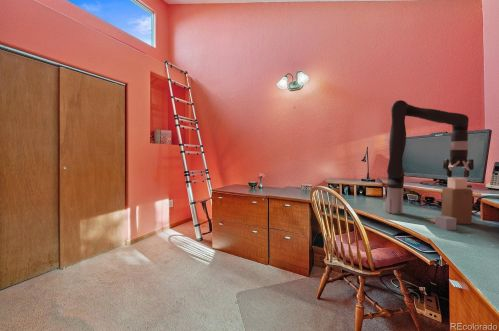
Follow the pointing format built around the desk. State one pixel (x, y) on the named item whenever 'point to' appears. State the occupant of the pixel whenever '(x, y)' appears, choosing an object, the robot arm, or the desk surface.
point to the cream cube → (457, 183)
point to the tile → (431, 220)
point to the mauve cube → (445, 222)
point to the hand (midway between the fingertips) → (457, 177)
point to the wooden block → (457, 204)
